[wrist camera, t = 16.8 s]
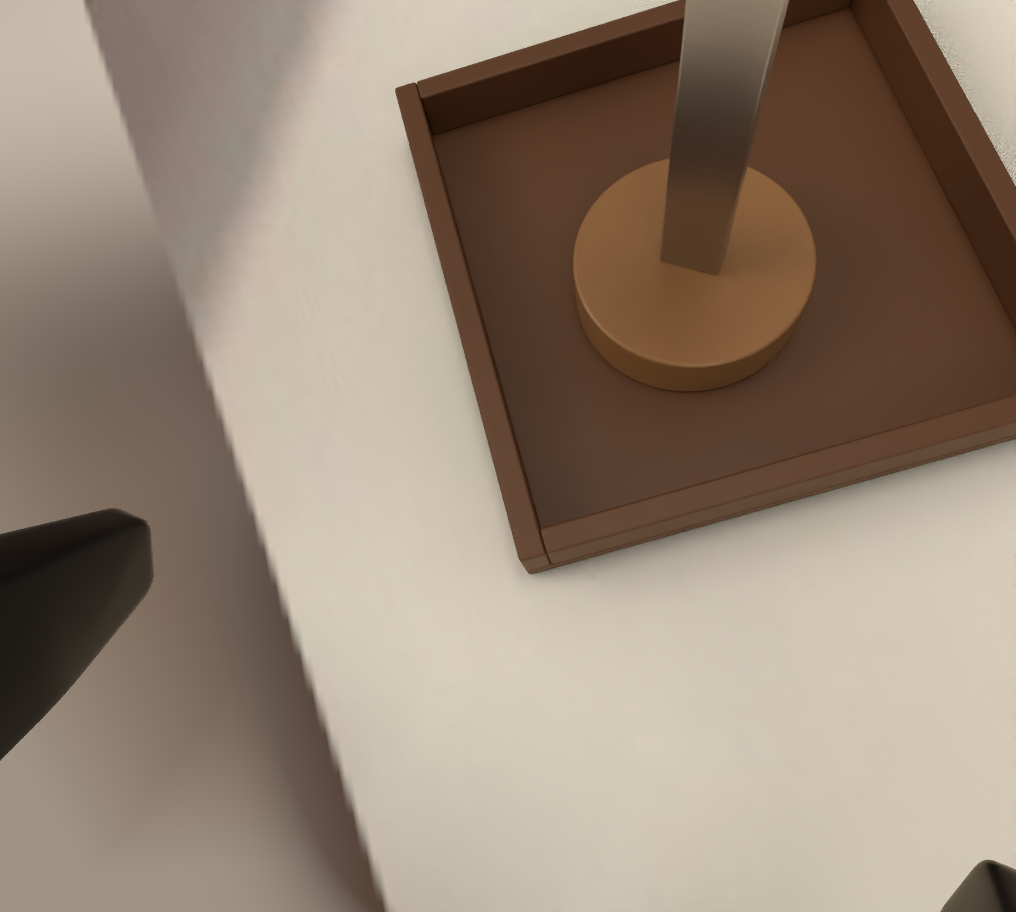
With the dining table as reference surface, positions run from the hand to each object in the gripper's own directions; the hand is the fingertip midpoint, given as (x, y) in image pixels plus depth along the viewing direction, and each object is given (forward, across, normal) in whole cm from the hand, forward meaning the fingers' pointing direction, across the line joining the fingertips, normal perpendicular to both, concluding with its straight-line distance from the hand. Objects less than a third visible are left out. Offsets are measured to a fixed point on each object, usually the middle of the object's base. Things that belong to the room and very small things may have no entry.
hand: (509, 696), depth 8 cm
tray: (+16, 0, -1) cm, 16 cm away
